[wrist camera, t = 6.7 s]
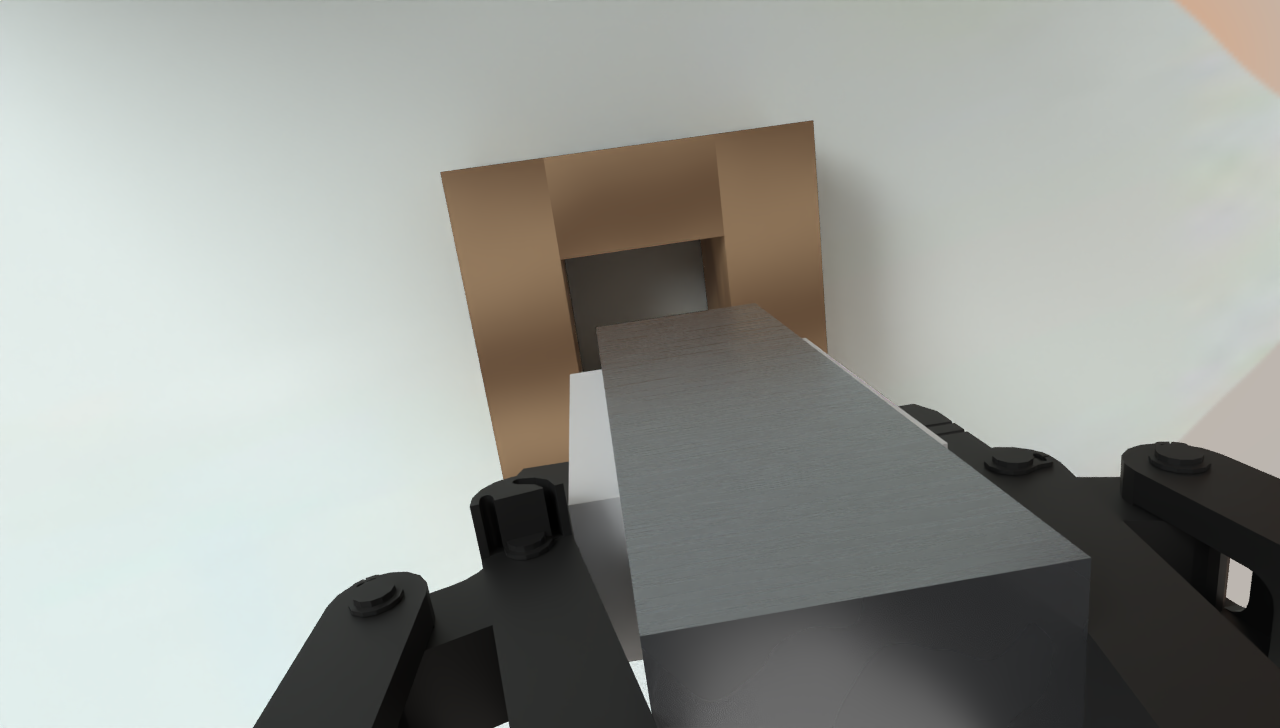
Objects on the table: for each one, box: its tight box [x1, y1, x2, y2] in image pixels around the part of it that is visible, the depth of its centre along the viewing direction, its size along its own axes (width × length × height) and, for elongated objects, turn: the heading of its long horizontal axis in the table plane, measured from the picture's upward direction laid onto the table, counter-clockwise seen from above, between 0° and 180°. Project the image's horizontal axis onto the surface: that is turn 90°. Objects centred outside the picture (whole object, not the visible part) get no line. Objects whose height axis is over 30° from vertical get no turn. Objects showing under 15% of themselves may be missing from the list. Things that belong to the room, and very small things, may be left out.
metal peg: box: [596, 303, 1091, 728], centre depth 12 cm, size 4×4×12 cm
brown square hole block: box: [440, 121, 828, 479], centre depth 27 cm, size 12×12×5 cm
